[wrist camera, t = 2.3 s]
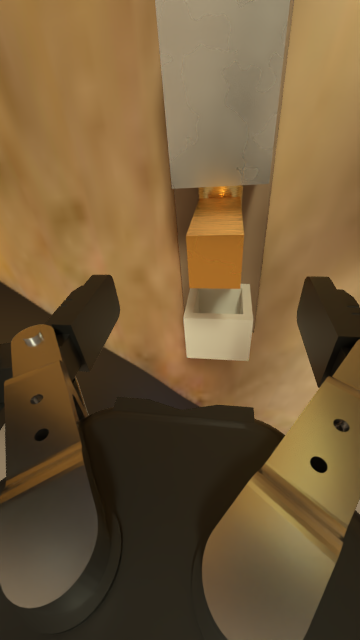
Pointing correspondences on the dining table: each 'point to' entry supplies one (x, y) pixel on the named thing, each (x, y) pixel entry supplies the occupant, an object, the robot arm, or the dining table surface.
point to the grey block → (221, 88)
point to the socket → (219, 323)
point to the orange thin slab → (216, 239)
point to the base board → (252, 214)
